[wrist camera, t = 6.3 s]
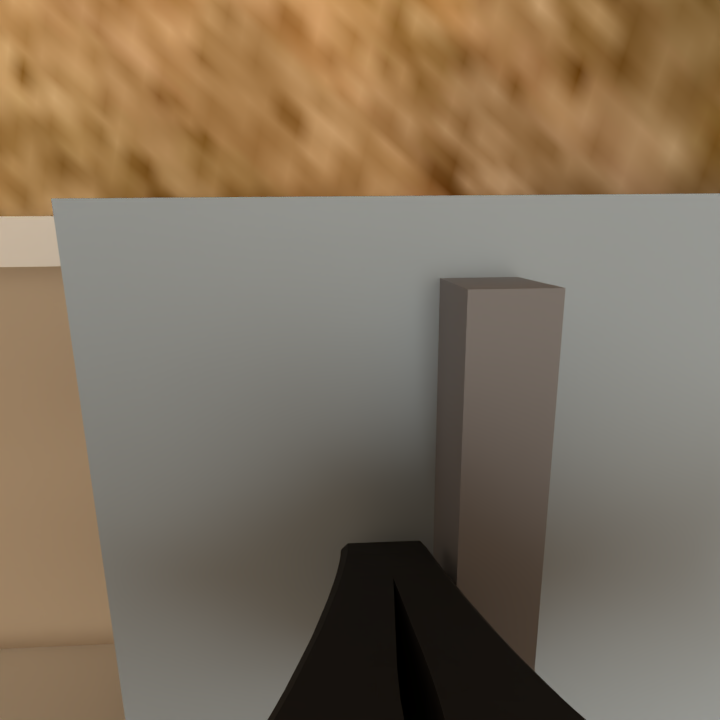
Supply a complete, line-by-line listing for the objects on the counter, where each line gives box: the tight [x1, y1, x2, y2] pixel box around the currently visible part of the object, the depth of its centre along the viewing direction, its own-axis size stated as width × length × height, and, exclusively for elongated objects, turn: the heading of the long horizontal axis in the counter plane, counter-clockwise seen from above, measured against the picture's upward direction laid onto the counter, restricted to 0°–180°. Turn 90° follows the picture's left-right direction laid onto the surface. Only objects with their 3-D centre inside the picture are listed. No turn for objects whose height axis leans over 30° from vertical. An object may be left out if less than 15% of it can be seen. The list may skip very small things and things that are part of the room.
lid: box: [51, 194, 720, 720], centre depth 9 cm, size 18×12×2 cm
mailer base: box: [0, 216, 125, 720], centre depth 12 cm, size 18×12×4 cm, turn 91°
